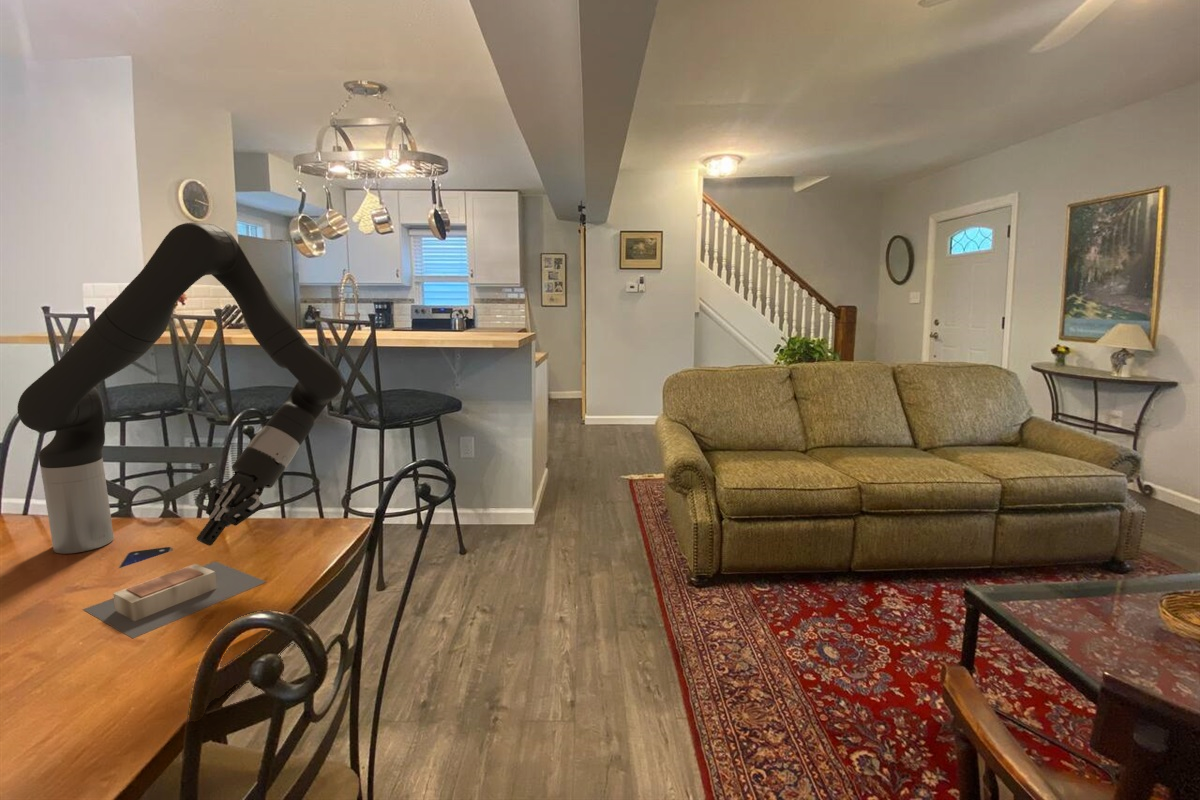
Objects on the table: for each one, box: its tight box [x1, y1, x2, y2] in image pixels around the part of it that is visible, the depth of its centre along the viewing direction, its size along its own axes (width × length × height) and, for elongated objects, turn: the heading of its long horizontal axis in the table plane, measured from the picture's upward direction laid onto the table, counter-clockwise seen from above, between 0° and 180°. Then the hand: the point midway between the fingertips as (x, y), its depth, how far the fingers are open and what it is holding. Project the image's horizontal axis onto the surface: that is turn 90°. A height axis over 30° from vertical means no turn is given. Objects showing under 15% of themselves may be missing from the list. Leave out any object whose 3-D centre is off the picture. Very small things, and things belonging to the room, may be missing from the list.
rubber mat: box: [82, 561, 267, 639], centre depth 99 cm, size 16×20×1 cm
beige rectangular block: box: [112, 563, 217, 621], centre depth 97 cm, size 6×3×12 cm
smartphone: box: [118, 546, 174, 569], centre depth 110 cm, size 7×1×15 cm
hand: (203, 542), depth 101 cm, fingers closed
